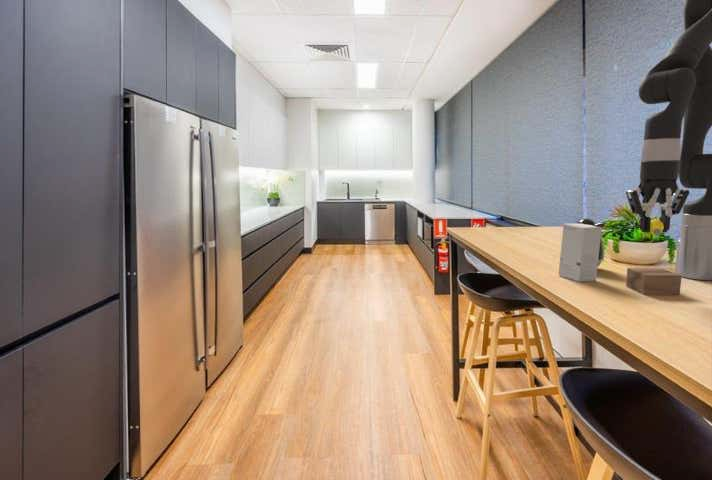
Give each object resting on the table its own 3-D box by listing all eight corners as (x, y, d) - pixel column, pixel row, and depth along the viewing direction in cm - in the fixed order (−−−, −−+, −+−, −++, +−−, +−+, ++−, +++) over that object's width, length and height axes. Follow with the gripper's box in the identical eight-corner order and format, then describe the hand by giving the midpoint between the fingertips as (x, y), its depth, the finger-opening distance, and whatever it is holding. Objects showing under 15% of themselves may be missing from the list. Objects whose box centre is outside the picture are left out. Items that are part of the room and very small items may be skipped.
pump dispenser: (592, 273, 126) (595, 220, 124) (558, 267, 134) (560, 218, 132) (610, 269, 131) (613, 218, 129) (576, 263, 140) (579, 216, 138)
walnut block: (625, 287, 111) (627, 268, 110) (659, 287, 110) (661, 268, 109) (643, 295, 103) (645, 275, 102) (679, 296, 102) (681, 275, 101)
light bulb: (657, 232, 106) (665, 220, 105) (662, 242, 101) (669, 229, 100) (642, 228, 107) (649, 215, 106) (646, 238, 102) (653, 224, 101)
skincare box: (557, 275, 123) (560, 223, 121) (576, 274, 125) (579, 222, 123) (579, 282, 115) (583, 226, 113) (598, 281, 117) (602, 225, 115)
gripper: (679, 159, 106) (673, 230, 108) (620, 160, 106) (615, 230, 109) (703, 158, 99) (695, 234, 101) (639, 159, 99) (633, 234, 101)
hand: (653, 231), depth 105 cm, fingers closed on light bulb, 3 cm apart
